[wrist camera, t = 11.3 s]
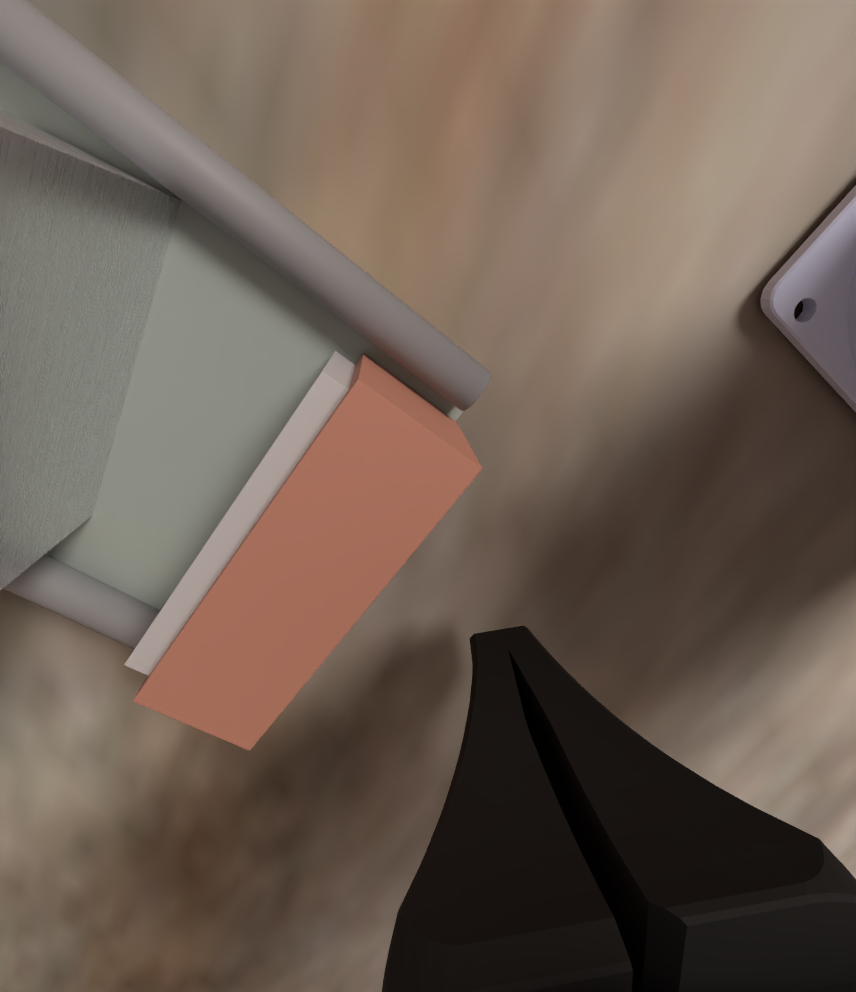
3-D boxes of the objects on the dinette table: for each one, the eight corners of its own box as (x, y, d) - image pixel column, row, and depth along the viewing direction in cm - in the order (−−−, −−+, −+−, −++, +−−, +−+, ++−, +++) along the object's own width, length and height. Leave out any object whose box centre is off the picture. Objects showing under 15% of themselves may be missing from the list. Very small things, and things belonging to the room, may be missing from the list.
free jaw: (456, 421, 11) (482, 469, 9) (277, 650, 13) (249, 750, 10) (344, 337, 10) (330, 358, 8) (169, 596, 12) (107, 689, 10)
